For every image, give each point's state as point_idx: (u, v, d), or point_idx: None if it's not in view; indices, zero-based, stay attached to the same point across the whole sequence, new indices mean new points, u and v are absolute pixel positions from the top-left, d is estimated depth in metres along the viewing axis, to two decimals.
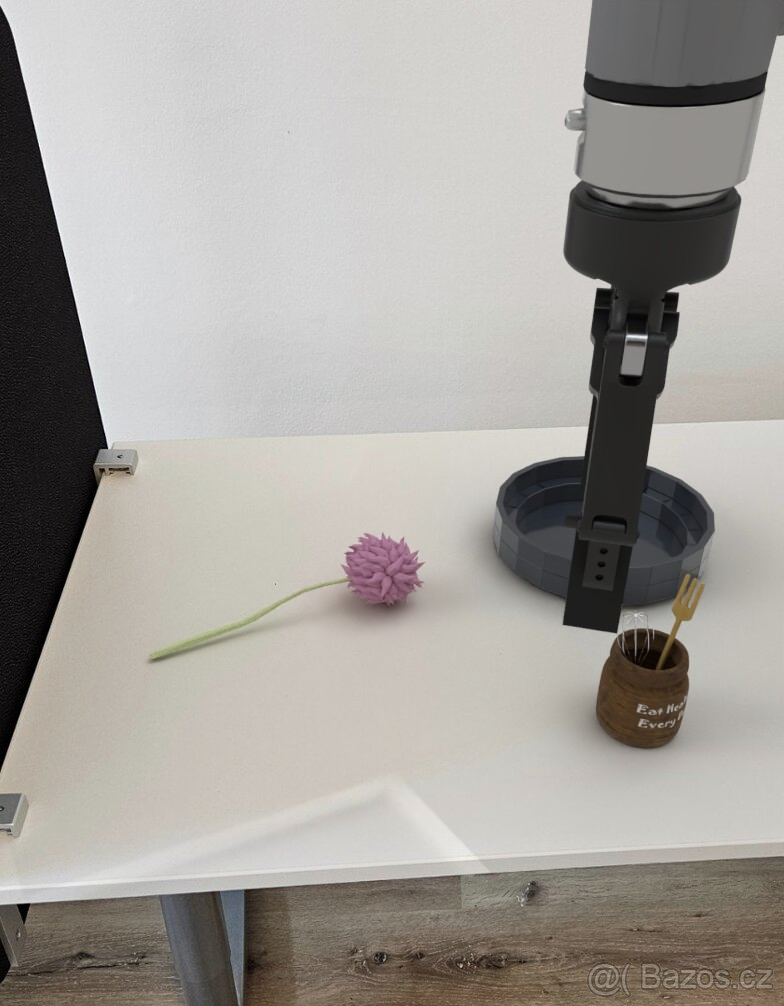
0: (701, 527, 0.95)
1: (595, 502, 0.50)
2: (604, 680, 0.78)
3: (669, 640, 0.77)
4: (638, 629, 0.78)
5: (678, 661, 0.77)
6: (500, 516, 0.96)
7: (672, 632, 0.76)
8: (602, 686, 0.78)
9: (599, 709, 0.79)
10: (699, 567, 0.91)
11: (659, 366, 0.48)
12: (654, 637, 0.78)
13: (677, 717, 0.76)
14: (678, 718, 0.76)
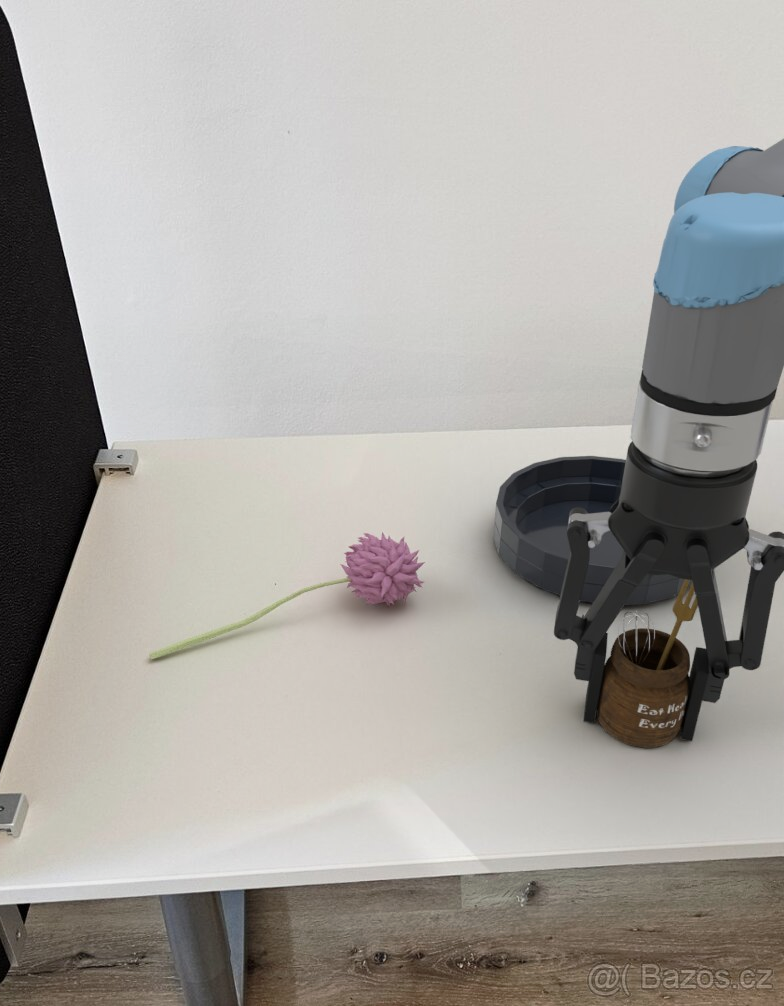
0: None
1: None
2: (605, 680, 0.78)
3: (670, 640, 0.77)
4: (639, 629, 0.78)
5: (679, 661, 0.77)
6: (500, 516, 0.96)
7: (673, 632, 0.76)
8: (603, 686, 0.78)
9: (600, 709, 0.79)
10: None
11: None
12: (655, 637, 0.78)
13: (678, 717, 0.76)
14: (679, 718, 0.76)
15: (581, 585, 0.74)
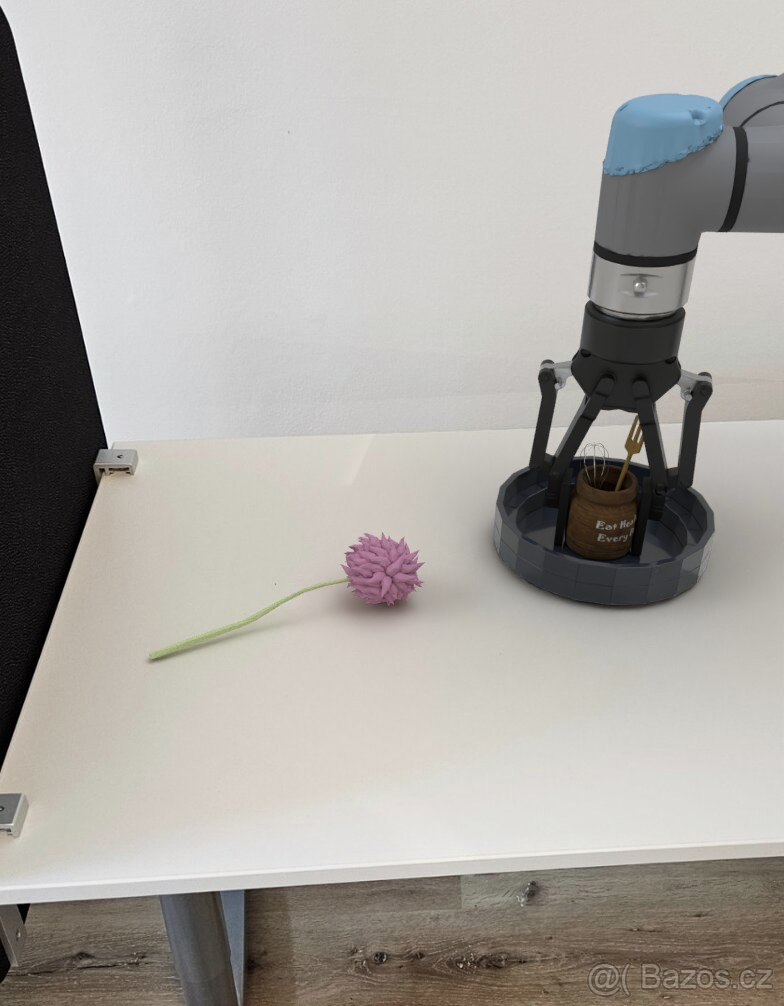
0: (701, 527, 0.95)
1: None
2: (570, 506, 0.96)
3: (622, 471, 0.95)
4: (598, 465, 0.96)
5: None
6: (500, 516, 0.96)
7: (625, 464, 0.94)
8: (569, 511, 0.96)
9: (567, 532, 0.97)
10: (699, 567, 0.91)
11: None
12: (611, 471, 0.96)
13: (629, 533, 0.94)
14: (630, 534, 0.94)
15: (550, 422, 0.92)
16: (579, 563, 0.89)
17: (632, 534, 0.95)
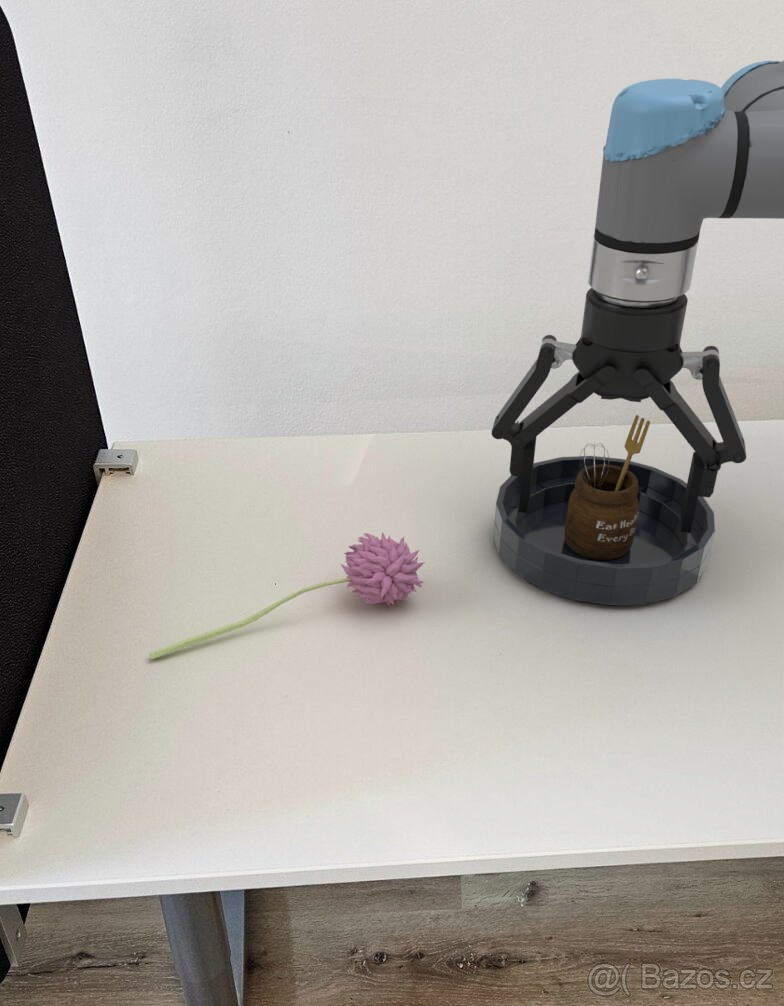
0: (701, 527, 0.95)
1: (740, 439, 0.87)
2: (570, 506, 0.96)
3: (622, 471, 0.95)
4: (598, 465, 0.96)
5: None
6: (500, 516, 0.96)
7: (625, 464, 0.94)
8: (569, 511, 0.96)
9: (567, 532, 0.97)
10: (699, 567, 0.91)
11: None
12: (611, 471, 0.96)
13: (629, 533, 0.94)
14: (630, 534, 0.94)
15: (531, 397, 0.91)
16: (579, 563, 0.89)
17: (632, 534, 0.95)
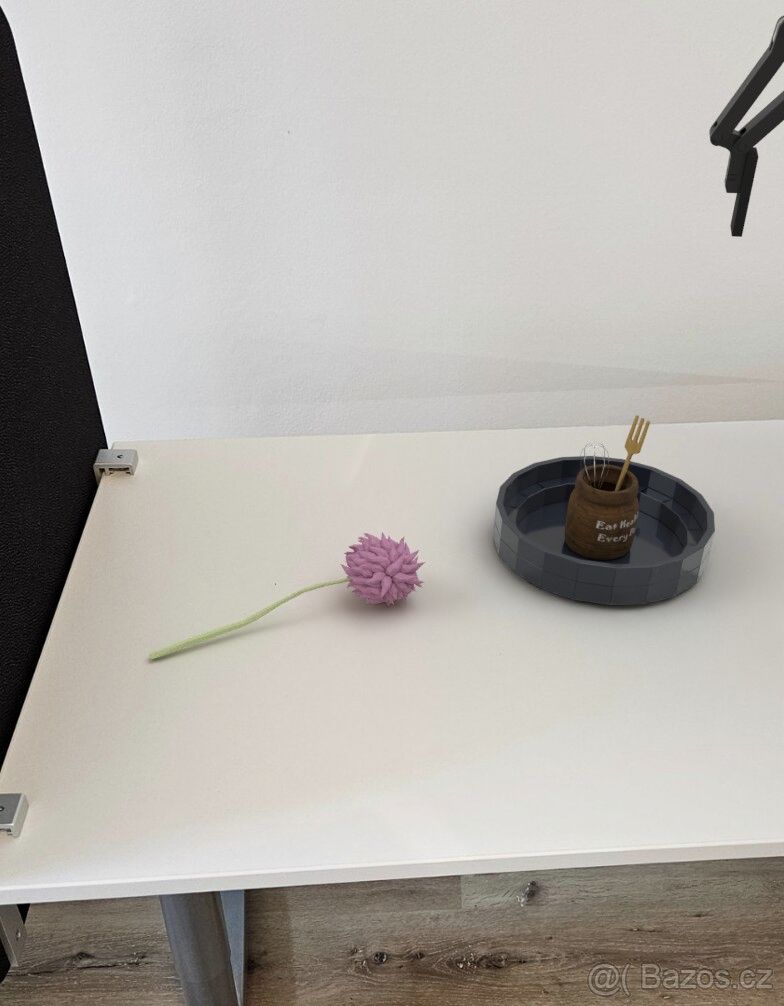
0: (701, 527, 0.95)
1: None
2: (570, 506, 0.96)
3: (622, 471, 0.95)
4: (598, 465, 0.96)
5: None
6: (500, 516, 0.96)
7: (625, 464, 0.94)
8: (569, 511, 0.96)
9: (567, 532, 0.97)
10: (699, 567, 0.91)
11: None
12: (611, 471, 0.96)
13: (629, 533, 0.94)
14: (630, 534, 0.94)
15: (762, 88, 0.82)
16: (579, 563, 0.89)
17: (632, 534, 0.95)
